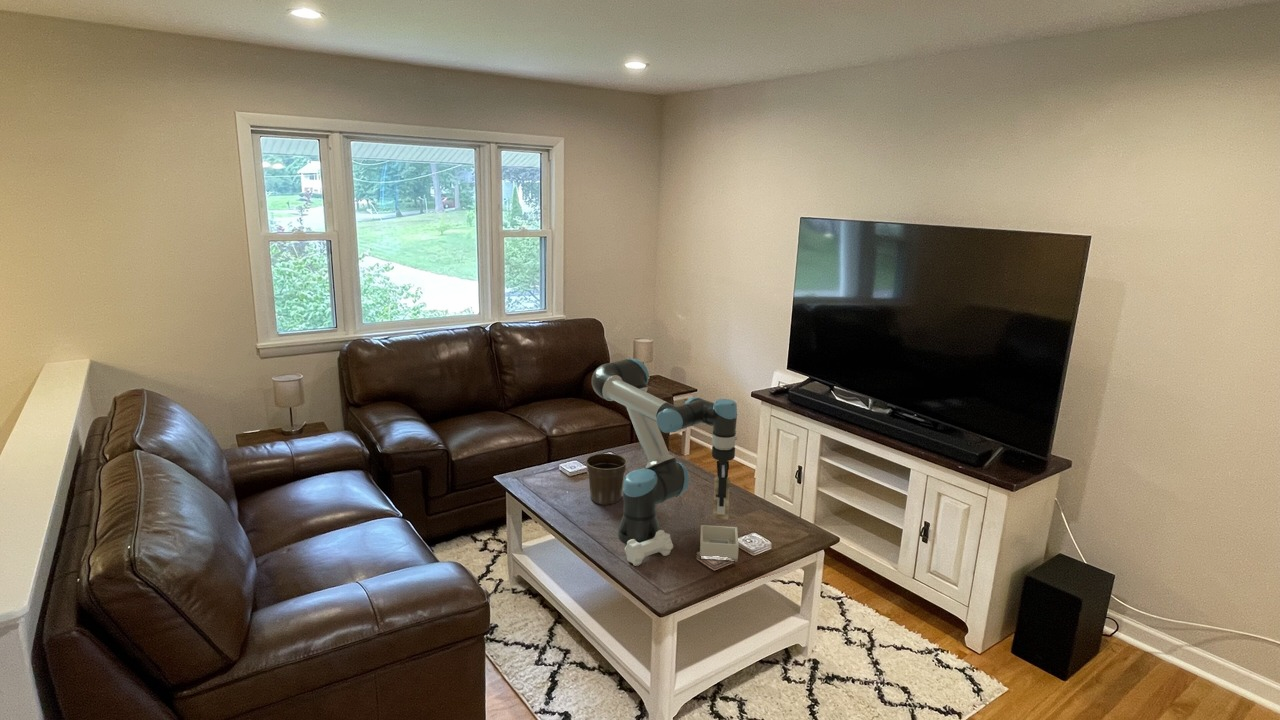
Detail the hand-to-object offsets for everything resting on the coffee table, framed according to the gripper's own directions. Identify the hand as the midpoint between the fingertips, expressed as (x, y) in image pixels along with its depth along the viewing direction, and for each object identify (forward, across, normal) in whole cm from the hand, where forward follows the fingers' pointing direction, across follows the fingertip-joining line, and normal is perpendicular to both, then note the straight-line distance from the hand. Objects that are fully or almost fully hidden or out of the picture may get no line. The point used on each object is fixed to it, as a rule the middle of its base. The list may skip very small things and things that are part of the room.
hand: (720, 511), depth 226 cm
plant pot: (+15, +35, +44) cm, 58 cm away
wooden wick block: (+2, 0, 0) cm, 2 cm away
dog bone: (+15, -7, +24) cm, 29 cm away
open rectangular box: (+15, 0, 0) cm, 15 cm away
